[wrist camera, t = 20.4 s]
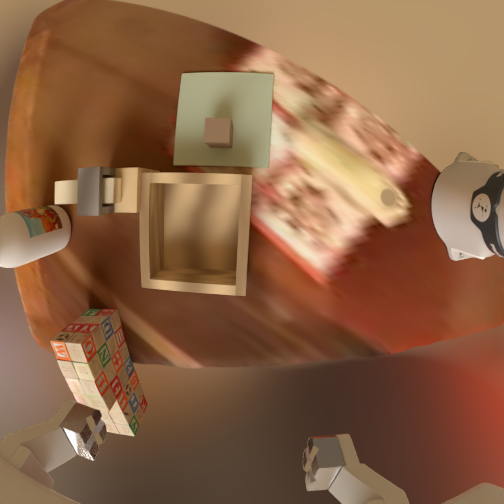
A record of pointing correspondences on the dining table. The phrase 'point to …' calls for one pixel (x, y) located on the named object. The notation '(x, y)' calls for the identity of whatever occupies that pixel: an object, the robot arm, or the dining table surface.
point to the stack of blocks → (101, 369)
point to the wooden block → (68, 191)
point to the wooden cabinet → (181, 225)
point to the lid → (224, 119)
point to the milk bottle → (32, 234)
